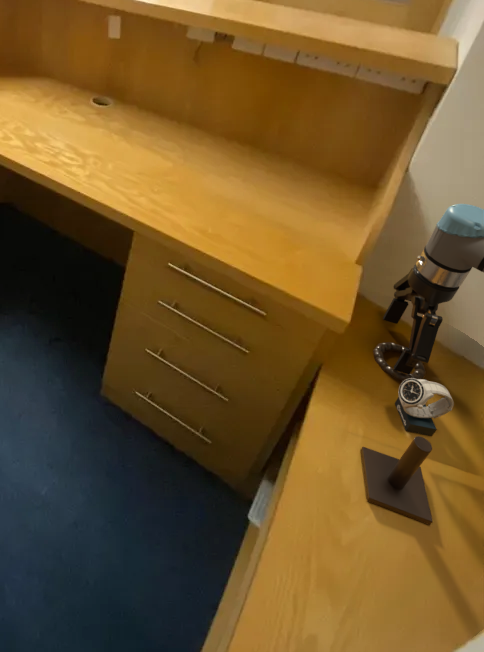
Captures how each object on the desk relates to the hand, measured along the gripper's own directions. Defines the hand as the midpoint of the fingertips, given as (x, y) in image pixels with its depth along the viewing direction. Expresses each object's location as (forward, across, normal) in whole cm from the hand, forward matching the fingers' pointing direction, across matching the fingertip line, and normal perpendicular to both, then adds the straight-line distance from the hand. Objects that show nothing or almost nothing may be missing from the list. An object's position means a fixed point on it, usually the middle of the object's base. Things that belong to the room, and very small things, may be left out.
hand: (395, 344), depth 109 cm
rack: (+2, +31, -5) cm, 31 cm away
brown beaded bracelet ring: (+1, +4, 0) cm, 4 cm away
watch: (+2, +17, 0) cm, 17 cm away
